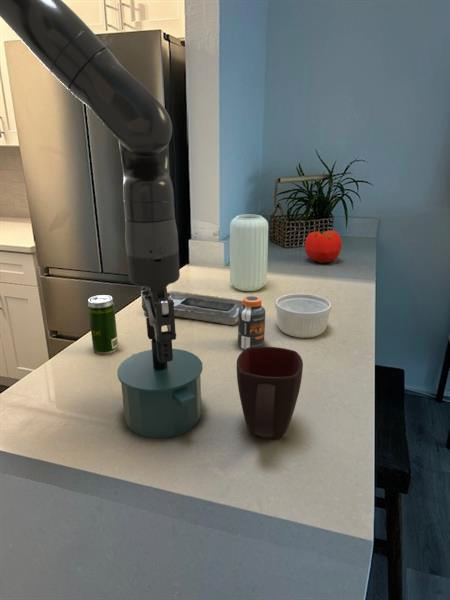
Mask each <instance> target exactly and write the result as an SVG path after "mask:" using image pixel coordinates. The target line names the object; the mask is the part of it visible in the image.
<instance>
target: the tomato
mask: <svg viewBox="0 0 450 600" xmlns="http://www.w3.org/2000/svg"><path fill="white" fill-rule="evenodd" d="M304 250H305V253H306V256H307V257H308V258H309V259H310V260H311V261H312V262H317V263H318V264H319V263H320V264H326V263H331V262H333V261H336V260H337V259H338V257H339V256H340V253H341V251H342V238H341V236H340V234H339V232H337V231H336V230H331V229H330V230H326V231H325V230H324V231H322V233H321V232H320V231H318V230H317V231H311V232H309V234H308V235H307V236H306V237H305V241H304Z"/></svg>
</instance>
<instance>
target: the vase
mask: <svg viewBox="0 0 450 600" xmlns="http://www.w3.org/2000/svg"><path fill="white" fill-rule="evenodd" d="M268 250H269V222H268V220H267V219H266V218H265V217H263V216H262V215H260V214H251V213H249V214H248V213H247V214H239V215H236V216H235V217H234V218H232V220H231V221H230V223H229V281H230V284H231V285H232V286H233V287H234V288H235V289H237V290H239V291H242V292H256V291H258V290H261V288H263V287H265V285H266V284H267V282H268V281H267V280H268V257H269V255H268V253H269V252H268Z"/></svg>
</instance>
